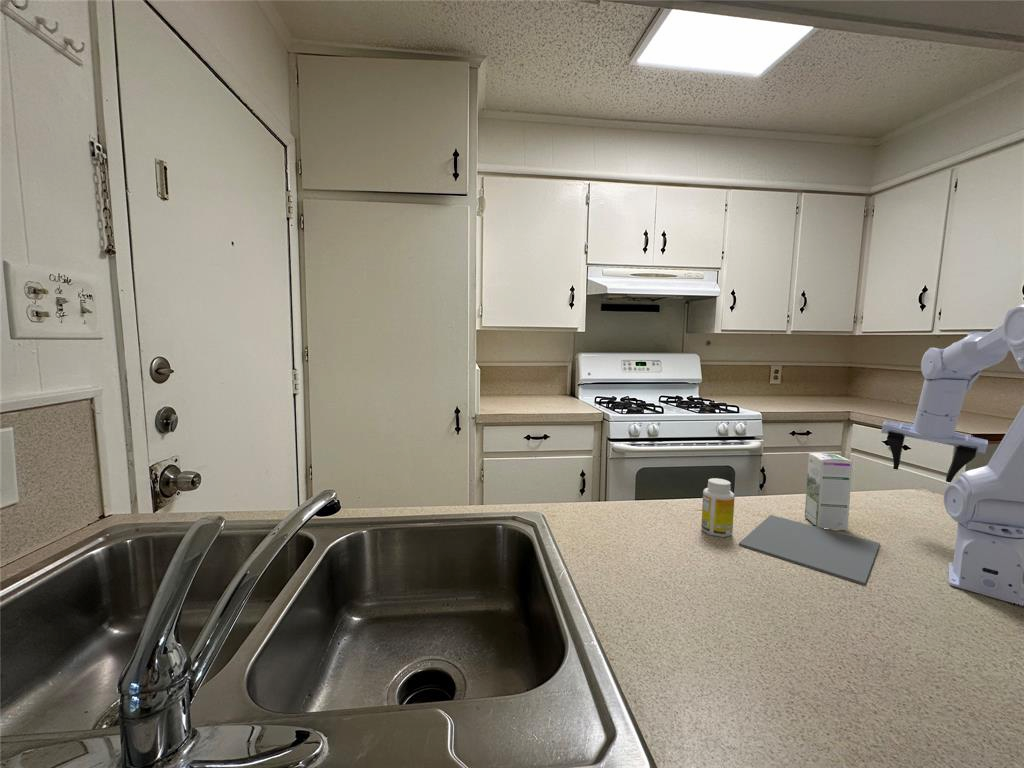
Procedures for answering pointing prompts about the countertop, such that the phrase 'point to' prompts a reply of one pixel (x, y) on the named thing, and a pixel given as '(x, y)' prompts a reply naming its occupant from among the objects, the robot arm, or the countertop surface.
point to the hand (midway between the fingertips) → (921, 473)
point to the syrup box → (828, 490)
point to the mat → (814, 548)
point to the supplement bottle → (718, 508)
